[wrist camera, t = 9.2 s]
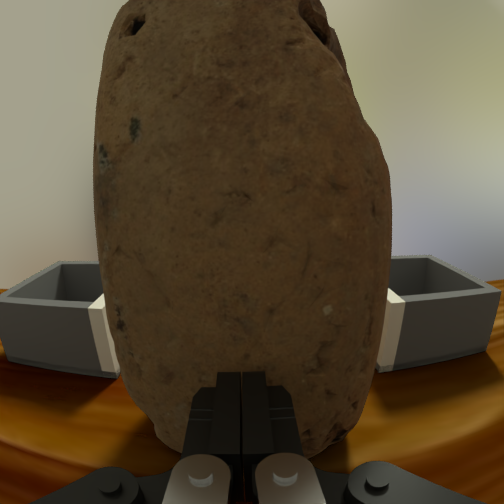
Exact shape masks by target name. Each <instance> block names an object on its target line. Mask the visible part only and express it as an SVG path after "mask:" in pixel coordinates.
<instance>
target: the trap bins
mask: <svg viewBox="0 0 504 504" xmlns="http://www.w3.org/2000/svg"><path fill="white" fill-rule="evenodd" d="M500 295H501V291H500V290H499V289H497V288H495V287H493V286H491V285H489V284H487V283H485V282H483V281H482V280H480V279H478V278H476V277H474V276H472V275H470V274H468V273H466V272H464V271H462V270H460V269H458V268H456V267H454V266H452V265H450V264H448V263H446V262H444V261H442V260H440V259H438V258H436V257H434V256H432V255H414V256H413V255H412V256H391V266H390V275H389V285H388V294H387V303H386V310H385V318H384V325H383V331H382V337H381V342H380V347H379V352H378V357H377V362H376V366H375V368H376V369H377V371H378V372H379V373H380V372H387V371H393V370H399V369H405V368H411V367H416V366H422V365H427V364H432V363H437V362H441V361H446V360H450V359H455V358H459V357H463V356H467V355H471V354H475V353H479V352H483V351H486V349H487V345H488V342H489V339H490V335H491V332H492V328H493V324H494V321H495V317H496V313H497V309H498V304H499V300H500ZM0 338H1V341H2V345H3V348H4V351H5V353H6V356H7V359H8V361H11V362H15V363H20V364H25V365H30V366H35V367H40V368H45V369H51V370H57V371H63V372H69V373H76V374H83V375H90V376H98V377H107V378H116V379H117V378H118V376H119V375H120V373H121V371H120V366H119V363H118V360H117V357H116V353H115V347H114V341H113V338H112V336H111V333H110V329H109V325H108V320H107V316H106V308H105V300H104V293H103V286H102V280H101V274H100V267H99V261H58V262H56V263H55V264H53V265H51V266H49V267H47V268H46V269H44V270H42V271H40V272H38V273H37V274H35V275H33V276H31V277H29V278H28V279H26V280H24V281H22V282H21V283H19V284H17V285H16V286H14V287H12V288H10V289H9V290H7V291H5V292H4V293H2V294H0Z"/></svg>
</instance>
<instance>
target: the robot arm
mask: <svg viewBox="0 0 504 504" xmlns="http://www.w3.org/2000/svg"><path fill="white" fill-rule="evenodd" d="M243 464H244V479H245V493H246V501H253V504H486V503H484V502H481V501H478V500H475V499H472V498H470V497H467V496H464V495H462V494H459V493H456V492H454V491H451V490H449V489H446V488H444V487H441V486H439V485H437V484H434V483H432V482H430V481H427V480H425V479H423V478H421V477H418V476H416V475H414V474H412V473H410V472H407V471H405V470H403V469H401V468H399V467H397V466H395V465H393V464H390V463H387V462H383V461H371V462H366V463H364V464H361V465H359V466H358V467H356V468H355V469H354V470H353V471H352V472H351V474H343V473H333V472H326V471H323V470H320V469H318V468H316V467H314V466H313V465H312V464H311V462H310V461H309V460H308V459H306V458H305V456H304V454H303V450H302V445H301V440H300V436H299V431H298V426H297V421H296V418H295V412H294V409H293V403H292V398H291V394H290V393H289V392H288V391H287V390H286V389H285V388H284V387H283V386H282V385H278V386H267V385H266V376H265V371H250V372H242V394H241V374H240V372H218V373H217V380H216V387H201V388H200V389H199V390H198V392H197V393H196V394H195V395H194V396H193V399H192V404H191V411H190V414H189V420H188V424H187V429H186V434H185V439H184V445H183V450H182V455H181V458H180V460H179V462H178V463H177V464H176V465H175V466H174V467H173V468H172V469H170V470H169V471H167V472H164V473H162V474H158V475H152V476H145V477H137V478H135V476H134V475H133V474H132V473H130V472H129V471H127V470H125V469H122V468H119V467H104V468H100V469H98V470H95V471H94V472H92V473H90V474H88V475H86V476H84V477H82V478H81V479H79V480H77V481H75V482H73V483H71V484H69V485H67V486H65V487H63V488H61V489H59V490H57V491H55V492H53V493H51V494H49V495H47V496H44V497H42V498H40V499H38V500H36V501H34V502H31V503H29V504H236V501H244V488H243Z"/></svg>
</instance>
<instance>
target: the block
mask: <svg viewBox="0 0 504 504" xmlns="http://www.w3.org/2000/svg"><path fill="white" fill-rule="evenodd" d="M93 186H94V187H93V189H94V214H95V227H96V238H97V248H98V258H99V267H100V274H101V280H102V286H103V293H104V300H105V308H106V316H107V320H108V325H109V329H110V333H111V336H112V338H113V341H114V347H115V353H116V357H117V360H118V363H119V366H120V371H121V376H122V379H123V382H124V384H125V386H126V389H127V391H128V393H129V395H130V396H131V398H132V399H133V401H134V402H135V403H136V405H137V406H138V407H139V408H140V409H141V410H142V411H143V412H144V413H145V414H146V415H147V416H148V417H149V418H150V419H151V421H152V422H153V423H154V430H155V433H156V436H157V437H158V438H159V439H160V440H161V441H162V442H163V443H164V444H166V445H167V446H168V447H170V448H171V449H173V450H175V451H178V452H180V453H182V450H183V445H184V439H185V434H186V429H187V424H188V420H189V414H190V411H191V404H192V399H193V396H194V395H195V394H196V393H197V392H198V390H199V389H200V388H201V387H216V380H217V373H218V372H240V374H241V394H242V372H250V371H265V376H266V385H267V386H278V385H282V386H283V387H284V388H285V389H286V390H287V391H288V392H289V393H290V394H291V398H292V403H293V409H294V412H295V418H296V421H297V426H298V431H299V436H300V440H301V445H302V450H303V454H304V456H305V458H306V459H309V458H311V457H313V456H315V455H317V454H318V453H320V452H321V451H323V450H324V449H325V448H327V447H328V445H331V444H334V443H337V442H339V441H342V440H343V439H344V437H345V436H346V435H347V434H348V432H349V431H351V430H352V429H353V427H354V426H355V425H356V424H357V422H358V420H359V418H360V416H361V413H362V411H363V408H364V405H365V402H366V399H367V396H368V392H369V389H370V386H371V382H372V378H373V375H374V370H375V366H376V362H377V357H378V352H379V347H380V342H381V337H382V331H383V325H384V318H385V310H386V303H387V294H388V285H389V275H390V266H391V249H392V248H391V247H392V199H391V188H390V175H389V170H388V166H387V163H386V161H385V159H384V156H383V153H382V149H381V146H380V143H379V140H378V138H377V137H376V135H375V134H374V132H373V131H372V129H371V128H370V127H369V125H368V124H367V122H366V121H365V120H364V118H363V116H362V113H361V110H360V107H359V104H358V102H357V100H356V98H355V96H354V92H353V88H352V84H351V80H350V78H349V76H348V73H347V69H346V62H345V59H344V56H343V52H342V50H341V46H340V43H339V40H338V37H337V35H336V32H335V30H334V29H333V28H331V27H330V26H329V25H328V22H327V16H326V12H325V9H324V7H323V6H322V3H321V2H320V0H129V1H128V2H127V3H126V4H125V5H123V6H122V7H121V9H120V10H119V12H118V13H117V15H116V18H115V20H114V22H113V25H112V27H111V30H110V32H109V35H108V39H107V43H106V47H105V51H104V55H103V64H102V71H101V77H100V84H99V90H98V96H97V106H96V117H95V136H94V157H93ZM243 465H244V464H243Z"/></svg>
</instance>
